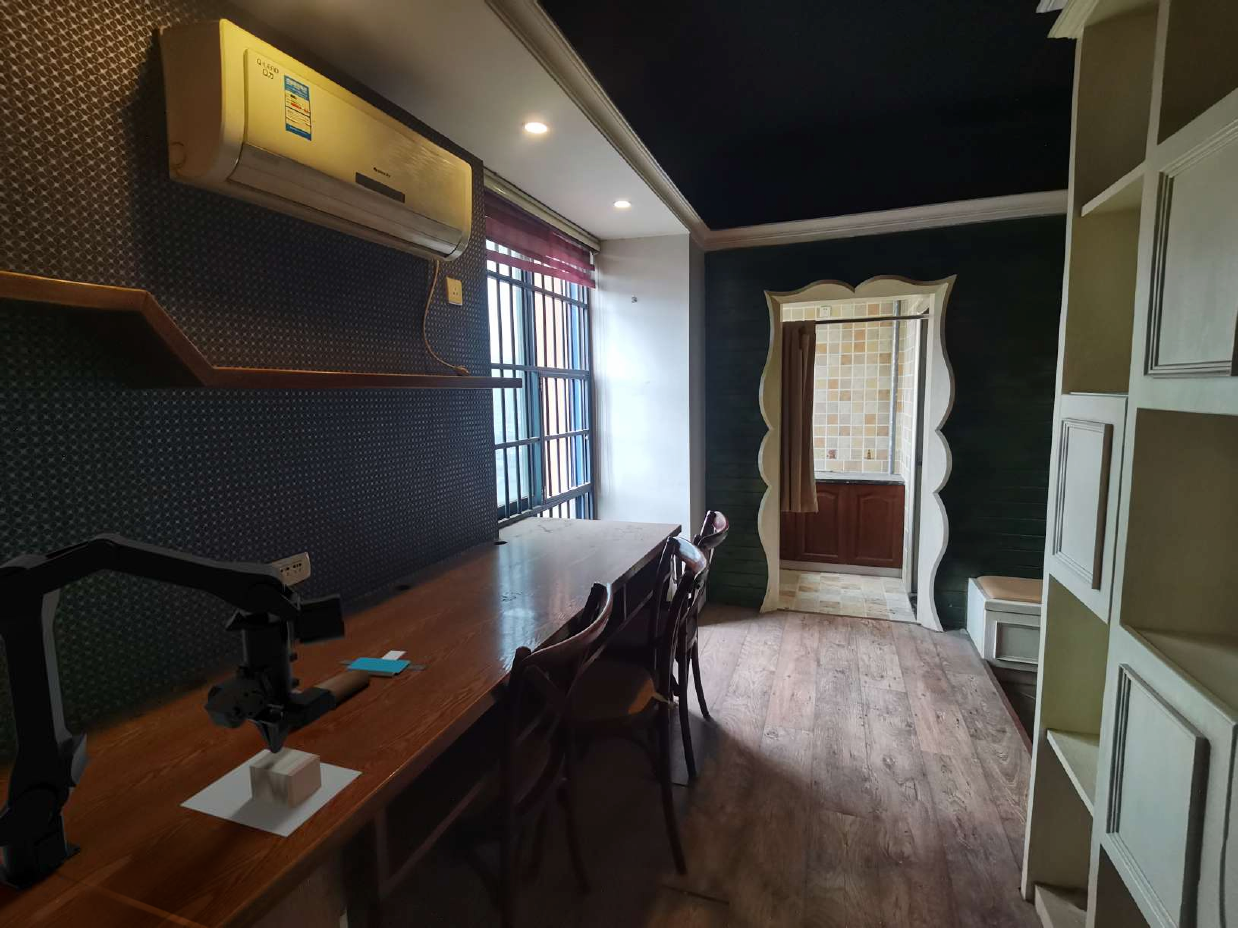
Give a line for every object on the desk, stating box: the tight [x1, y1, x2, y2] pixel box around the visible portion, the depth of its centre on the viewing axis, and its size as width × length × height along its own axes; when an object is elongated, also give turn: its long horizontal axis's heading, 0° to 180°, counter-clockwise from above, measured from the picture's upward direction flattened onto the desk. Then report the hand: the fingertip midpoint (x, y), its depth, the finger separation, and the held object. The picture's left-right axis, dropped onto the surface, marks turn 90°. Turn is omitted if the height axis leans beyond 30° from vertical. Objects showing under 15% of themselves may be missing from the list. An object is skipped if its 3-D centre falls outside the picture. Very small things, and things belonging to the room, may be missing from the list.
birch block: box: [249, 746, 322, 808], centre depth 87 cm, size 5×5×8 cm
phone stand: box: [339, 650, 426, 677], centre depth 129 cm, size 20×12×2 cm, turn 81°
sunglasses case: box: [291, 669, 371, 730], centre depth 113 cm, size 18×7×7 cm
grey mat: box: [179, 748, 363, 838], centre depth 88 cm, size 20×14×1 cm
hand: (276, 751), depth 87 cm, fingers closed
